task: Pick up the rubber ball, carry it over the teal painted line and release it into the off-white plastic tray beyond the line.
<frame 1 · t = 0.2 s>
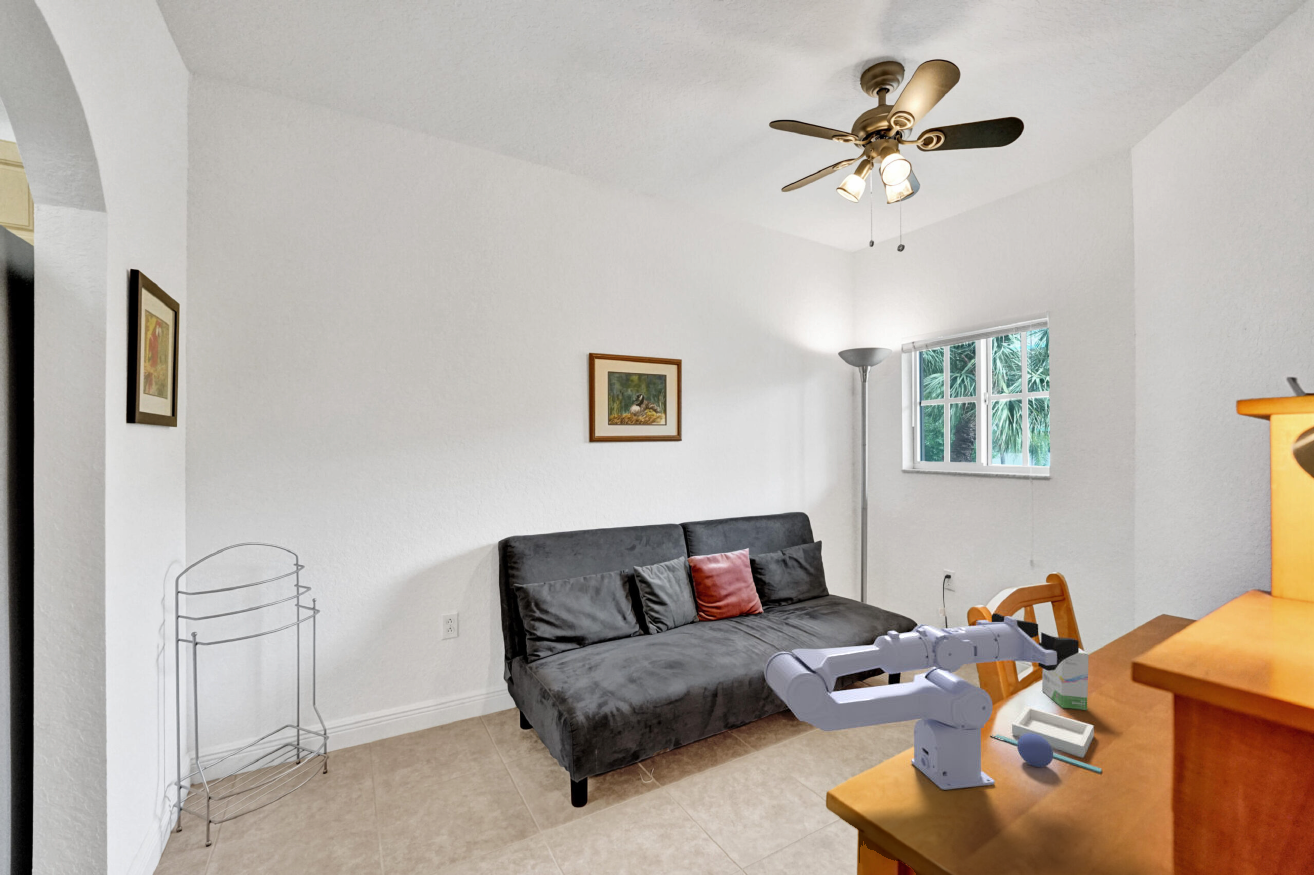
hand: (1055, 637, 94), 21 cm above the table, tool horizontal, fingers open, 7 cm apart
ball: (1034, 750, 93), point 2 cm above the table
teal line: (1042, 752, 96), on the table
tray: (1052, 735, 102), on the table
ink box: (1064, 701, 117), on the table
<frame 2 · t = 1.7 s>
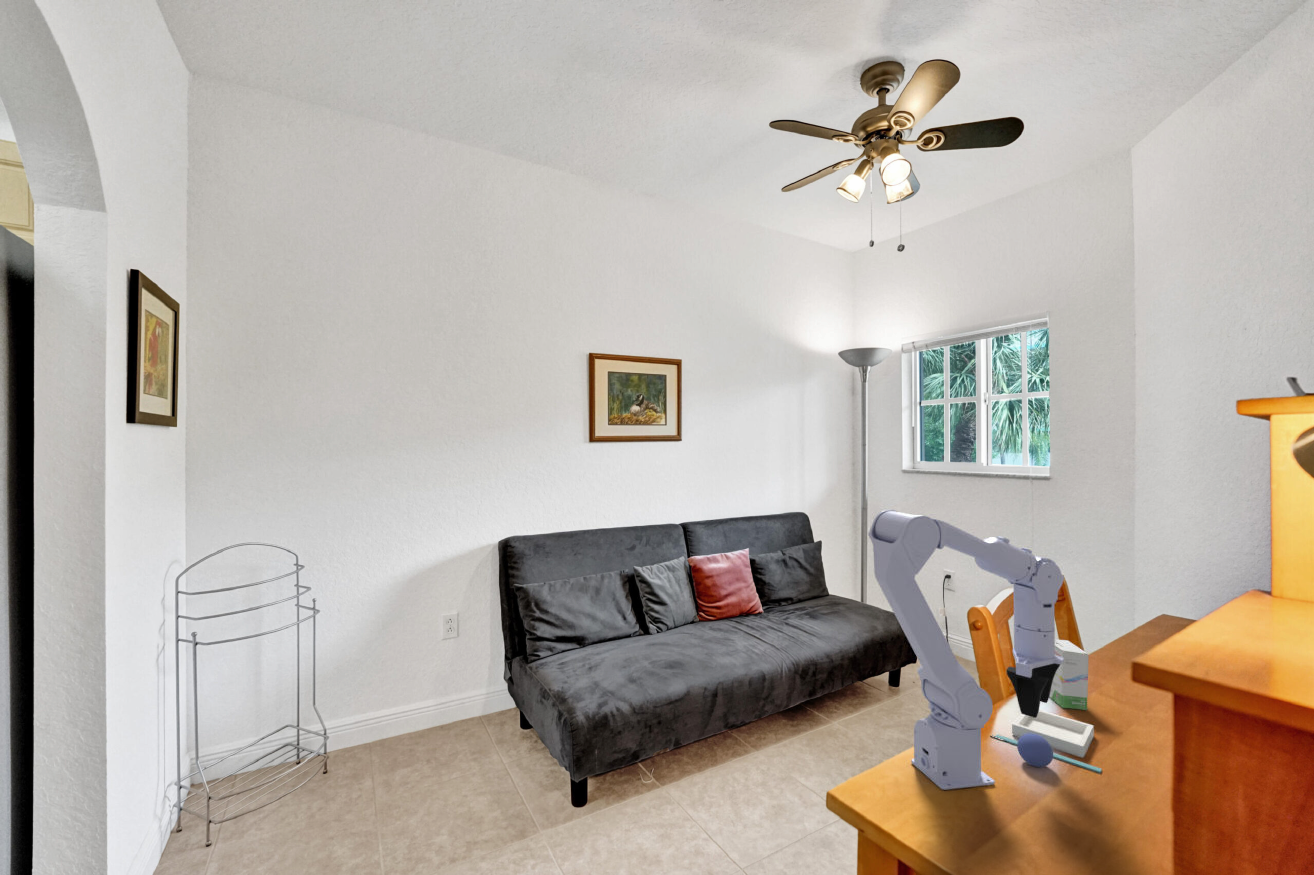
hand: (1034, 707, 93), 10 cm above the table, tool pointing down, fingers open, 7 cm apart
nothing on the table moved.
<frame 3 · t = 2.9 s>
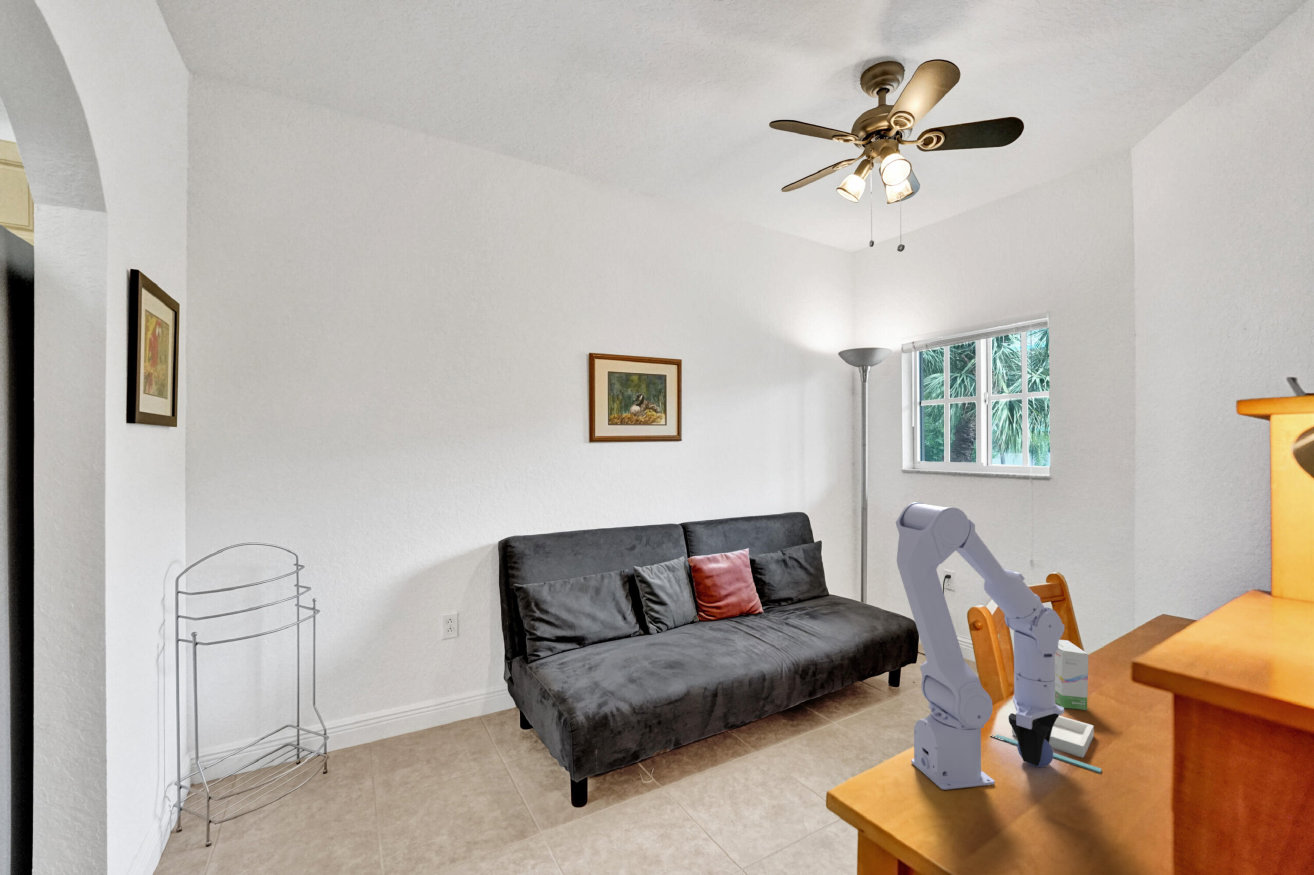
hand: (1034, 756, 93), 1 cm above the table, tool pointing down, fingers closed on ball, 5 cm apart
ball: (1034, 750, 93), point 2 cm above the table, touching gripper
everything else where it was.
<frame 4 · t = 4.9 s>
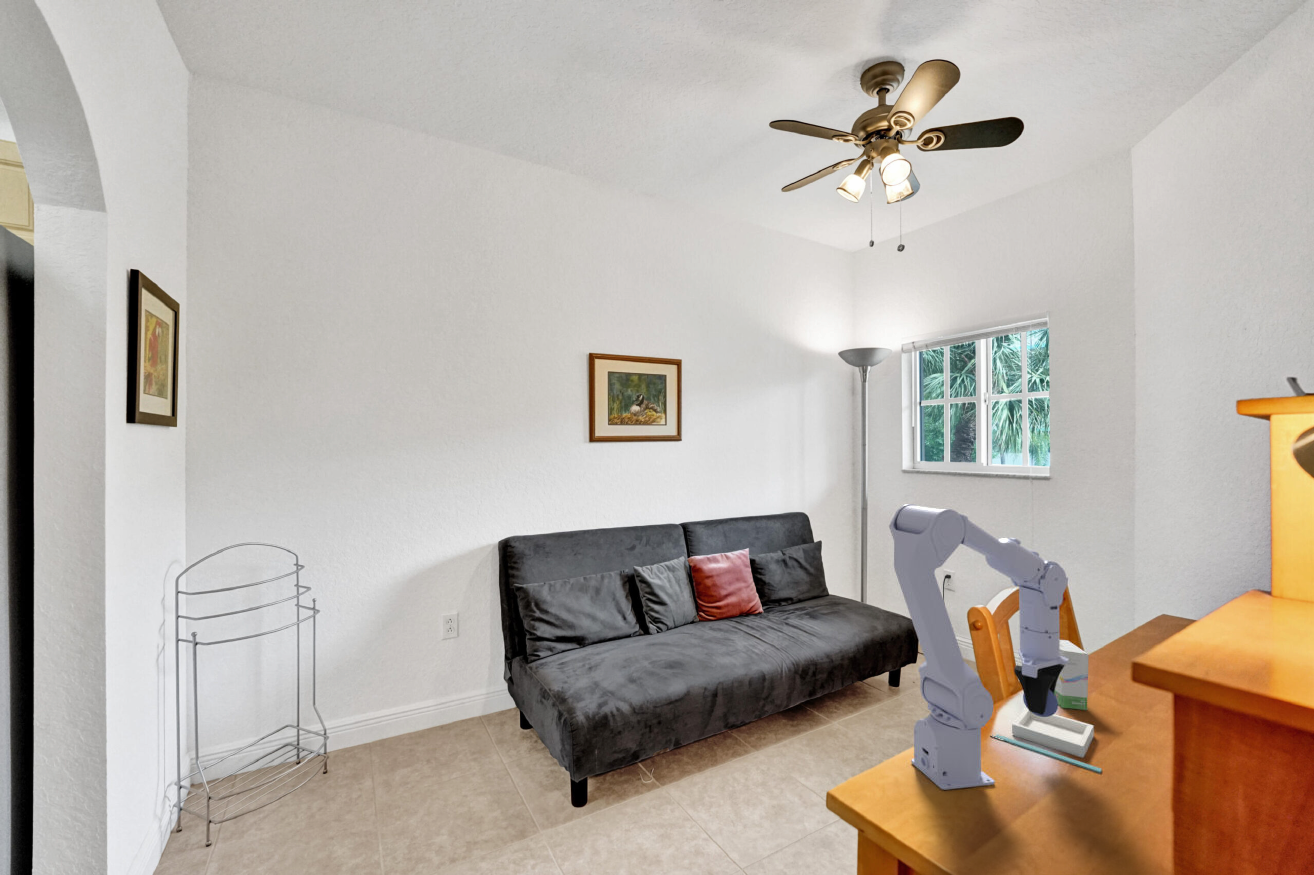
hand: (1040, 707, 95), 9 cm above the table, tool pointing down, fingers closed on ball, 5 cm apart
ball: (1040, 700, 95), point 10 cm above the table, touching gripper
everything else where it was.
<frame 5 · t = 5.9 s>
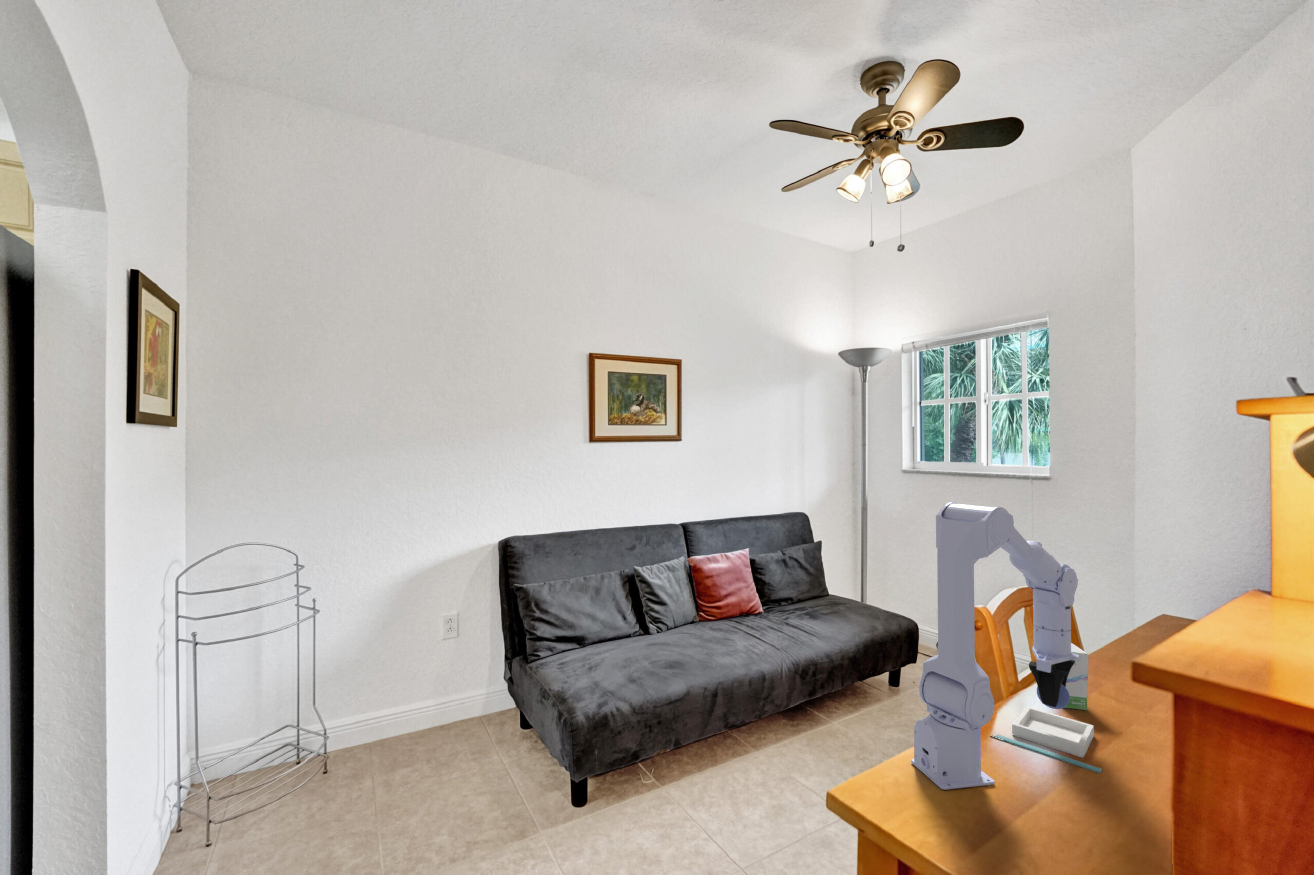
hand: (1052, 700, 102), 7 cm above the table, tool pointing down, fingers closed on ball, 5 cm apart
ball: (1052, 694, 102), point 8 cm above the table, touching gripper
everything else where it was.
when the fingers open (4 cm above the table, at t = 6.7 s): ball drops 3 cm, resting on tray.
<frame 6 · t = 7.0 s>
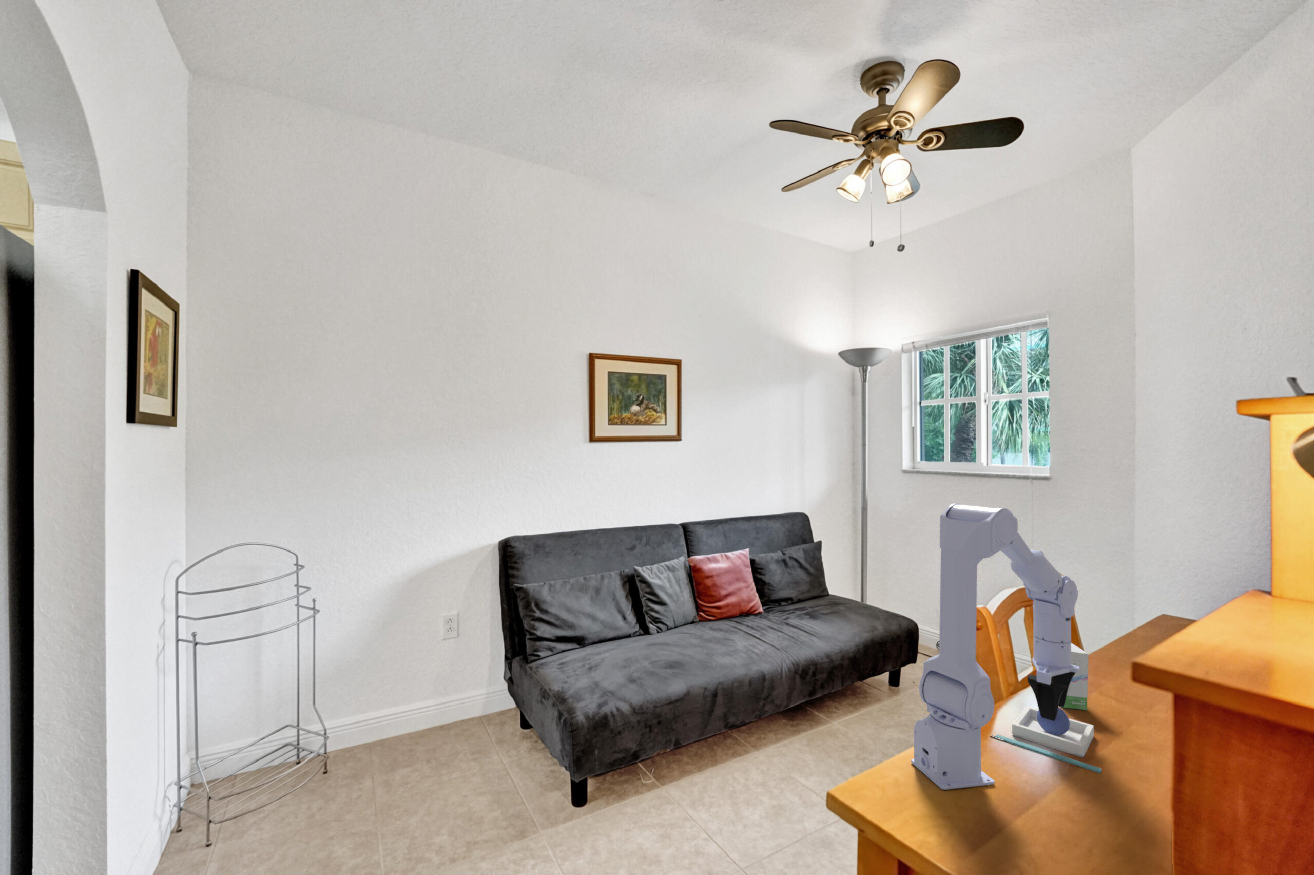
hand: (1052, 711, 102), 4 cm above the table, tool pointing down, fingers open, 7 cm apart
ball: (1053, 720, 102), point 3 cm above the table, touching tray
everything else where it was.
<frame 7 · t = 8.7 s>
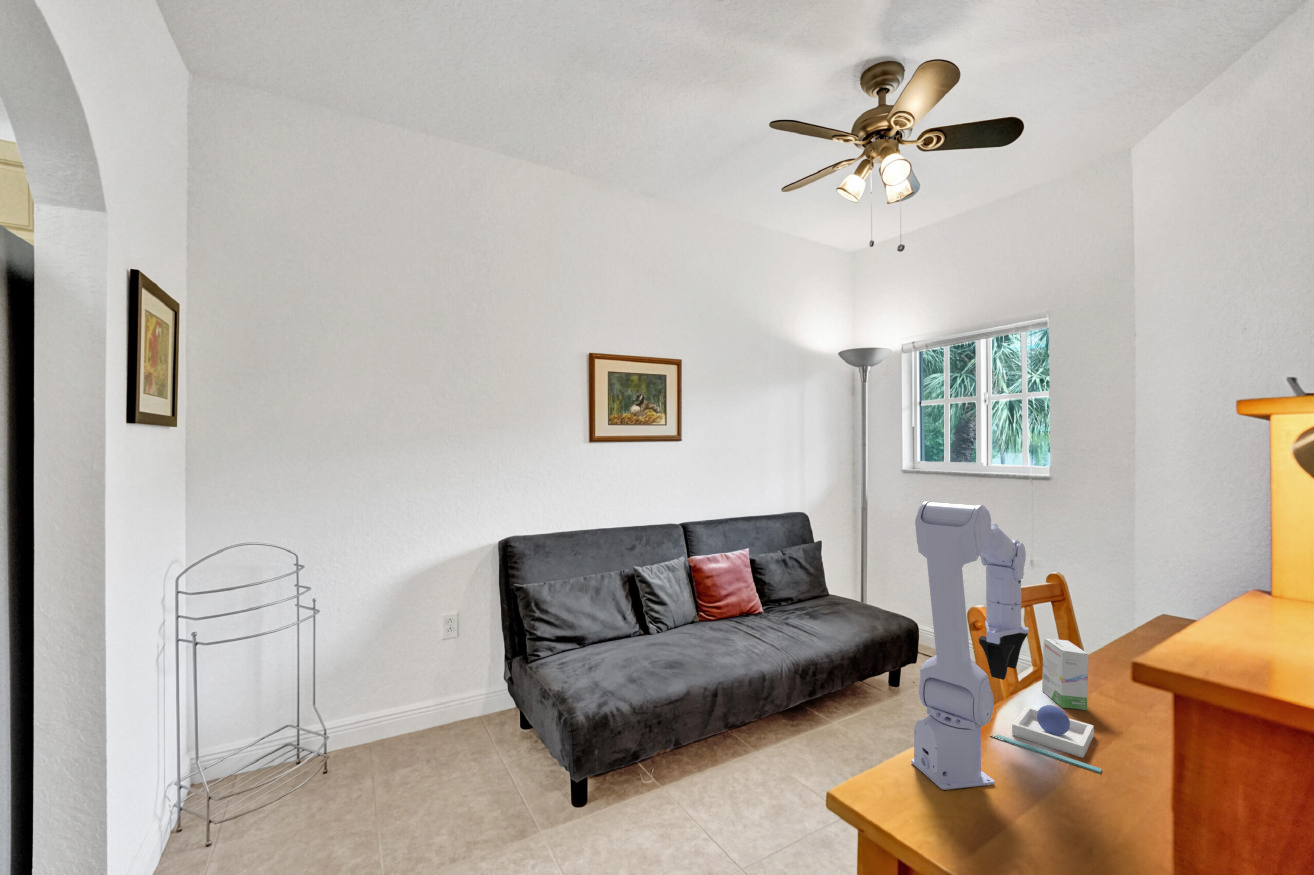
hand: (1003, 672, 105), 10 cm above the table, tool pointing down, fingers open, 7 cm apart
nothing on the table moved.
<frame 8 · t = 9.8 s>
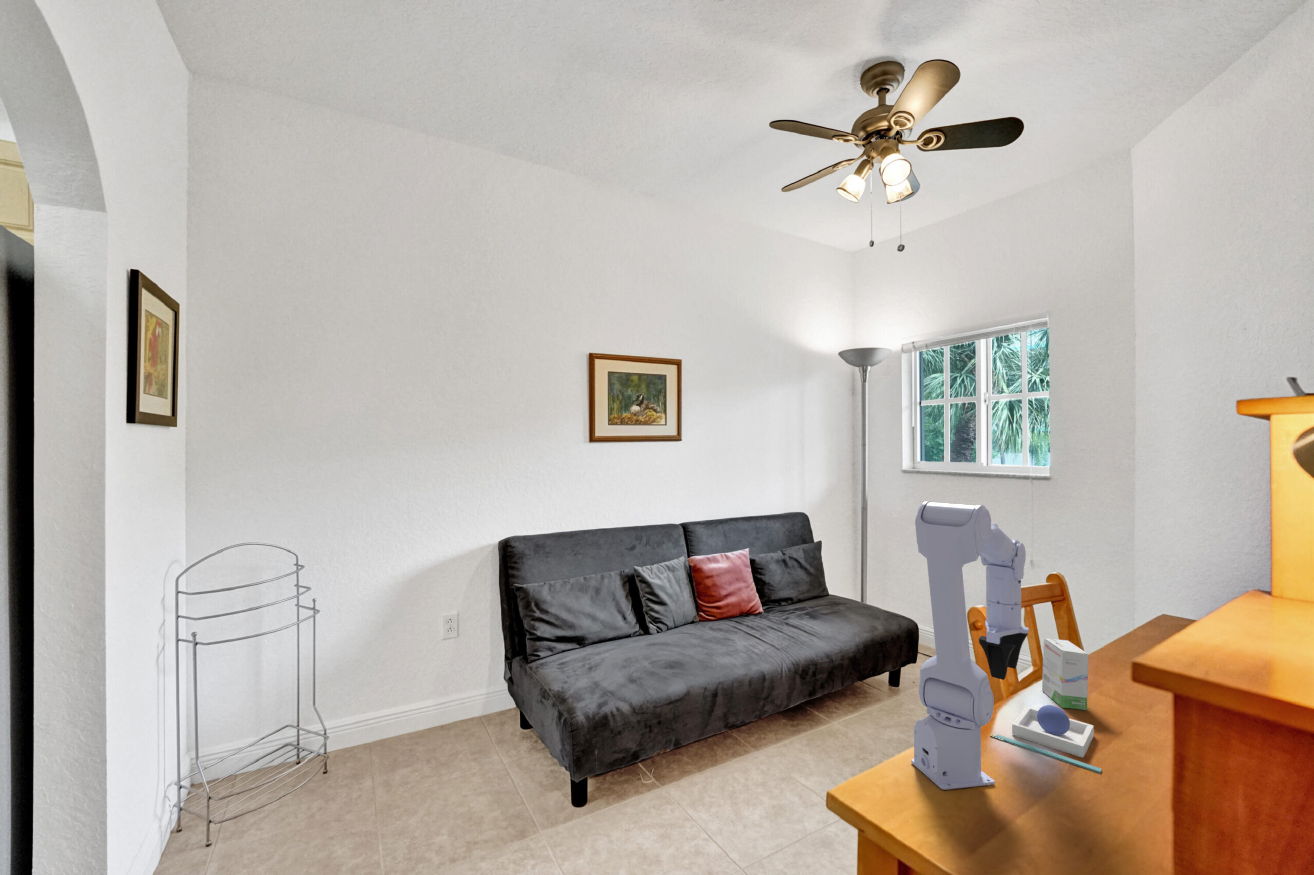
hand: (1003, 672, 105), 10 cm above the table, tool pointing down, fingers open, 7 cm apart
nothing on the table moved.
at the end: ball 0.1 cm from the tray (horizontally); ball point 2.9 cm above the table; the gripper is holding nothing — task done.
